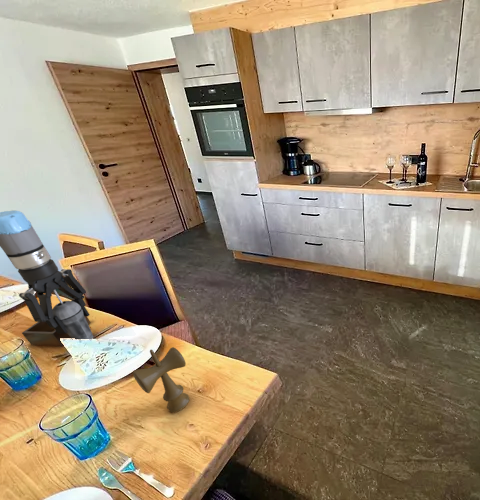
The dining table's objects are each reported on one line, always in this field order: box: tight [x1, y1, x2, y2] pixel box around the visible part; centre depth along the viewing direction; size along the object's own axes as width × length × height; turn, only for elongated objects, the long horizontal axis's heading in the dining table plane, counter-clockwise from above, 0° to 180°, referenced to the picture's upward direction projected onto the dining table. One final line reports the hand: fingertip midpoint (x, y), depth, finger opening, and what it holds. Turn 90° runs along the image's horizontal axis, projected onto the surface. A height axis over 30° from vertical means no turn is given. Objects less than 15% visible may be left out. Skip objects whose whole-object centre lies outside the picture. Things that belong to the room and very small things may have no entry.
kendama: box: [132, 346, 190, 413], centre depth 70 cm, size 6×10×20 cm, turn 145°
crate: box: [21, 316, 91, 347], centre depth 99 cm, size 11×11×6 cm
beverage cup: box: [52, 289, 94, 340], centre depth 93 cm, size 7×7×20 cm
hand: (74, 323), depth 94 cm, fingers closed on beverage cup, 7 cm apart
